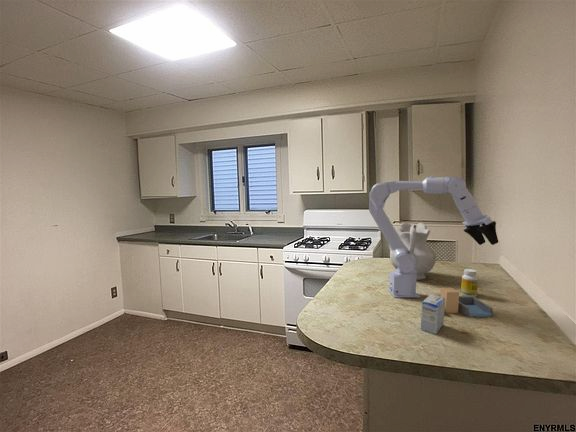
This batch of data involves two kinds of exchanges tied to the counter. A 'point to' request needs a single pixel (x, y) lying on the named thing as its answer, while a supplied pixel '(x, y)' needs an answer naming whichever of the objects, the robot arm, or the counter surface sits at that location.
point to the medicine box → (432, 313)
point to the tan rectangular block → (450, 299)
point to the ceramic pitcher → (416, 247)
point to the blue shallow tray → (473, 307)
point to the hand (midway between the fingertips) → (488, 243)
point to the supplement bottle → (469, 283)
